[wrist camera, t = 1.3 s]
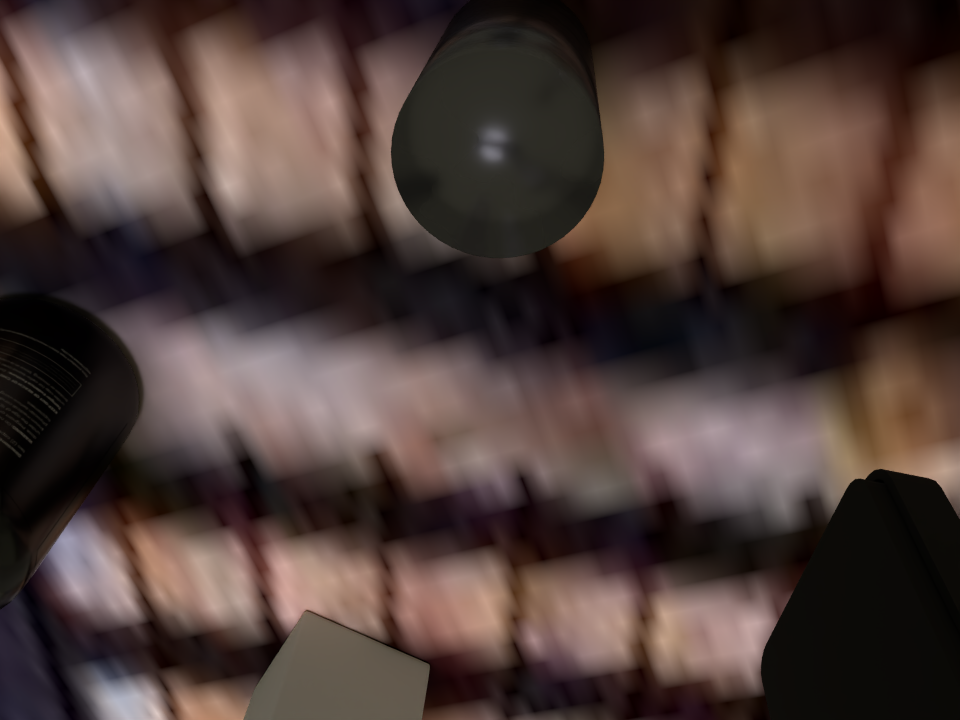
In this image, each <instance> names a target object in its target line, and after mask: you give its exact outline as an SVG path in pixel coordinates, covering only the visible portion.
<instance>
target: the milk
mask: <svg viewBox="0 0 960 720" xmlns="http://www.w3.org/2000/svg"><path fill="white" fill-rule="evenodd" d="M429 670H430V665H429V664H428V663H425V662H423V661H421V660H419V659H416V658H414V657H412V656H409V655H407V654H405V653H403V652H400V651H398V650H396V649H393V648H391V647H389V646H386V645H384V644H382V643H380V642H377V641H375V640H373V639H370V638H368V637H366V636H363V635H361V634H359V633H357V632H354V631H352V630H350V629H347V628H345V627H343V626H341V625H338V624H336V623H334V622H331V621H329V620H327V619H324V618H322V617H320V616H318V615H315V614H313V613H311V612H308V611H305V612H304V614H303V615H302V617H301V618H300V620H299V621H298V623H297V624H296V626H295V627H294V629H293V630H292V632H291V634H290V635H289V637H288V638H287V640H286V641H285V643H284V644H283V646H282V647H281V649H280V650H279V652H278V654H277V655H276V657H275V658H274V660H273V661H272V663H271V664H270V666H269V667H268V669H267V670H266V672H265V674H264V675H263V677H262V678H261V680H260V681H259V683H258V684H257V686H256V687H255V689H254V692H253V695H252V697H251V700H250V703H249V706H248V709H247V711H246V714H245V717H244V720H422V715H423V709H424V702H425V696H426V690H427V683H428V677H429Z"/></svg>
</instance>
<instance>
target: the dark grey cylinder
mask: <svg viewBox="0 0 960 720" xmlns="http://www.w3.org/2000/svg"><path fill="white" fill-rule="evenodd" d="M391 158H392V168H393V173H394V178H395V181H396V184H397V188H398V191H399V193H400V195H401V197H402V199H403V201H404V203H405V205H406V206H407V208H408V209H409V211H410V212H411V214H412V215H413V216H414V218H415V219H416V220H417V221H418V222H419V223H420V225H422V226H423V227H424V228H425V229H426V230H427V231H428V232H429V233H430V234H432V235H433V236H434V237H436V238H437V239H438V240H440V241H441V242H443V243H445V244H447V245H449V246H450V247H452V248H455V249H457V250H460V251H462V252H465V253H469V254H472V255H476V256H482V257H488V258H509V257H517V256H522V255H527V254H530V253H533V252H536V251H539V250H542V249H544V248H546V247H548V246H550V245H552V244H553V243H555V242H556V241H558V240H559V239H561V238H563V237H564V236H565V235H566V234H567V233H569V232H570V231H571V230H572V229H573V228H574V227H575V226H576V225H577V224H578V223H579V222H580V221H581V219H582V218H583V217H584V215H585V214H586V212H587V211H588V210H589V208H590V206H591V204H592V202H593V200H594V198H595V197H596V194H597V191H598V188H599V186H600V183H601V178H602V173H603V165H604V146H603V136H602V129H601V121H600V113H599V105H598V97H597V89H596V81H595V73H594V66H593V58H592V52H591V47H590V43H589V40H588V37H587V34H586V32H585V30H584V28H583V26H582V24H581V23H580V21H579V20H578V18H577V17H576V15H575V14H574V13H573V12H572V11H571V10H570V9H569V8H568V7H567V6H566V5H565V4H564V3H562V2H561V1H560V0H471V1H469V2H468V3H467V4H466V5H465V6H463V7H462V8H461V9H460V10H459V12H458V13H457V14H456V15H455V16H454V18H453V19H452V20H451V22H450V23H449V25H448V27H447V29H446V30H445V32H444V34H443V36H442V37H441V39H440V41H439V43H438V44H437V46H436V48H435V50H434V51H433V53H432V55H431V57H430V58H429V60H428V62H427V64H426V65H425V67H424V69H423V71H422V72H421V74H420V76H419V78H418V79H417V81H416V83H415V85H414V87H413V88H412V90H411V92H410V94H409V95H408V97H407V99H406V101H405V103H404V104H403V106H402V108H401V110H400V112H399V115H398V118H397V121H396V123H395V127H394V132H393V136H392V147H391Z"/></svg>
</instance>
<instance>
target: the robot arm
mask: <svg viewBox="0 0 960 720" xmlns="http://www.w3.org/2000/svg"><path fill="white" fill-rule="evenodd" d="M0 507H1V493H0ZM761 676H762V683H763V687H764V691H765V696H766V700H767V704H768V709H769V713H770V717H771V720H960V519H959V518H958V516H957V514H956V512H955V511H954V509H953V507H952V505H951V504H950V502H949V500H948V498H947V497H946V495H945V493H944V491H943V490H942V488H941V487H940V486H939V484H938V483H937V482H936V481H934V480H932V479H929V478H924V477H919V476H914V475H909V474H904V473H899V472H894V471H889V470H884V469H878V470H874V471H873V472H872V473H871V474H869V475H868V477H867V478H866V479H865V480H864V479H855V480H854V481H852V482H851V483H850V485H849V486H848V488H847V489H846V491H845V493H844V495H843V497H842V499H841V501H840V503H839V504H838V506H837V508H836V510H835V512H834V514H833V516H832V518H831V520H830V522H829V524H828V526H827V528H826V530H825V532H824V533H823V535H822V537H821V539H820V541H819V543H818V545H817V547H816V549H815V551H814V553H813V555H812V557H811V559H810V561H809V563H808V564H807V566H806V568H805V570H804V572H803V574H802V576H801V578H800V580H799V582H798V584H797V586H796V588H795V590H794V592H793V593H792V595H791V597H790V599H789V601H788V603H787V605H786V607H785V609H784V611H783V613H782V615H781V617H780V619H779V621H778V622H777V624H776V626H775V628H774V630H773V632H772V634H771V636H770V638H769V640H768V642H767V644H766V646H765V649H764V652H763V656H762V663H761Z"/></svg>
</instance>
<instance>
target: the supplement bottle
mask: <svg viewBox="0 0 960 720" xmlns="http://www.w3.org/2000/svg"><path fill="white" fill-rule="evenodd" d="M138 409H139V392H138V386H137V382H136V378H135V375H134V373H133V370H132V368H131V366H130V364H129V362H128V360H127V359H126V357H125V355H124V354H123V352H122V351H121V350H120V348H119V347H118V346H117V345H116V343H115V342H114V341H113V340H112V339H111V338H110V337H109V336H108V335H107V334H106V333H105V332H104V331H103V330H102V329H100V328H99V327H98V326H97V325H95V324H94V323H93V322H91V321H90V320H88V319H86V318H85V317H83V316H82V315H80V314H78V313H76V312H74V311H72V310H70V309H68V308H65V307H63V306H60V305H57V304H54V303H50V302H47V301H42V300H37V299H29V298H9V299H1V300H0V493H1V507H0V609H2V608H3V607H5V606H6V605H7V604H9V603H10V602H11V601H12V600H13V599H14V598H15V597H16V596H17V595H18V594H19V593H20V591H21V590H22V589H23V587H24V586H25V585H26V584H27V582H28V581H29V580H30V578H31V577H32V575H33V574H34V572H35V571H36V570H37V568H38V567H39V565H40V564H41V562H42V561H43V560H44V558H45V557H46V555H47V554H48V552H49V551H50V549H51V548H52V546H53V545H54V544H55V542H56V541H57V539H58V538H59V536H60V535H61V533H62V532H63V531H64V529H65V528H66V526H67V525H68V523H69V522H70V520H71V519H72V518H73V516H74V515H75V513H76V512H77V510H78V509H79V507H80V506H81V504H82V503H83V502H84V500H85V499H86V497H87V496H88V494H89V493H90V491H91V490H92V489H93V487H94V486H95V484H96V483H97V481H98V480H99V478H100V477H101V476H102V474H103V473H104V471H105V470H106V468H107V467H108V465H109V464H110V462H111V461H112V460H113V458H114V457H115V455H116V454H117V452H118V451H119V449H120V448H121V446H122V445H123V443H124V442H125V440H126V439H127V437H128V436H129V434H130V432H131V430H132V428H133V426H134V424H135V421H136V419H137V414H138Z"/></svg>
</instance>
